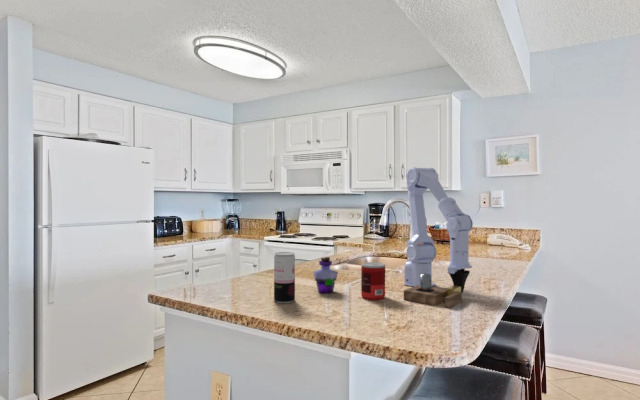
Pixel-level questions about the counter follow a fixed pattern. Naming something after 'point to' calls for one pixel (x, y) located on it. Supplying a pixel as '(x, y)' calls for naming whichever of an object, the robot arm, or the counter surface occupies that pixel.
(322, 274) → the potion bottle
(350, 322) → the counter surface
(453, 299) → the mount
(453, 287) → the khaki rectangular plank
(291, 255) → the beverage can
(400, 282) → the counter surface
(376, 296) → the canned food
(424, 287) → the peg
